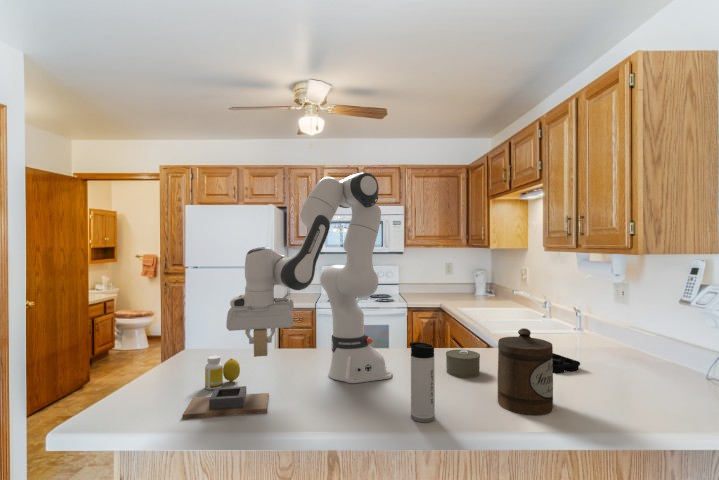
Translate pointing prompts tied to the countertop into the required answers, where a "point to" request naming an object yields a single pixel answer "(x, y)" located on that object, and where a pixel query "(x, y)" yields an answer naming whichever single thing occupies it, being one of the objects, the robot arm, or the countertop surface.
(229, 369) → the lemon
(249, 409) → the dock board
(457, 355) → the can
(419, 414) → the travel mug
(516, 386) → the wooden container
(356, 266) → the robot arm
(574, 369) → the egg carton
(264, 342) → the square bar
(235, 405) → the collar
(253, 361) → the countertop surface
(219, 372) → the supplement bottle
